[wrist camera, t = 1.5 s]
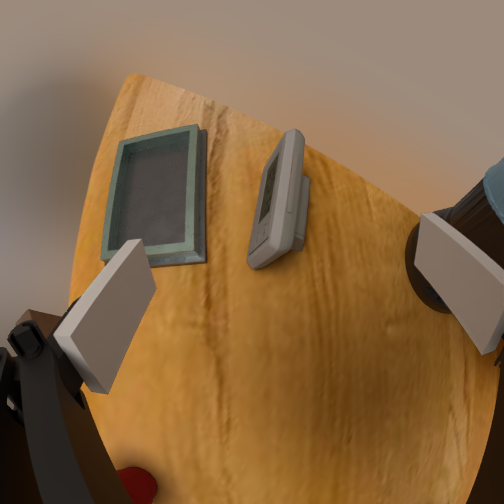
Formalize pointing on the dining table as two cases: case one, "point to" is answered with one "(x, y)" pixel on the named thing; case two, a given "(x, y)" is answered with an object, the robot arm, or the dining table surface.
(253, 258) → the digital clock
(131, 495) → the plastic cup
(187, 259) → the keeper tray
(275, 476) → the dining table surface
